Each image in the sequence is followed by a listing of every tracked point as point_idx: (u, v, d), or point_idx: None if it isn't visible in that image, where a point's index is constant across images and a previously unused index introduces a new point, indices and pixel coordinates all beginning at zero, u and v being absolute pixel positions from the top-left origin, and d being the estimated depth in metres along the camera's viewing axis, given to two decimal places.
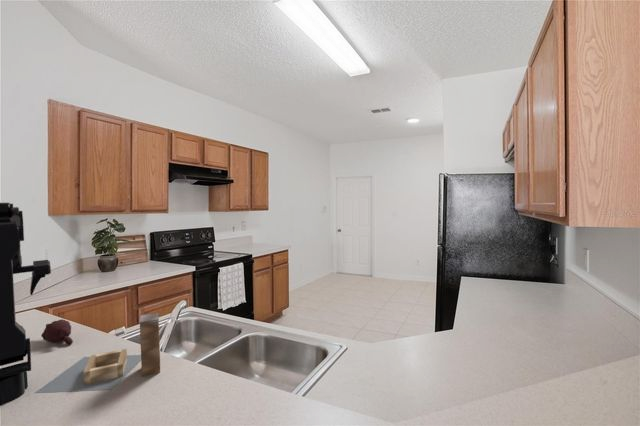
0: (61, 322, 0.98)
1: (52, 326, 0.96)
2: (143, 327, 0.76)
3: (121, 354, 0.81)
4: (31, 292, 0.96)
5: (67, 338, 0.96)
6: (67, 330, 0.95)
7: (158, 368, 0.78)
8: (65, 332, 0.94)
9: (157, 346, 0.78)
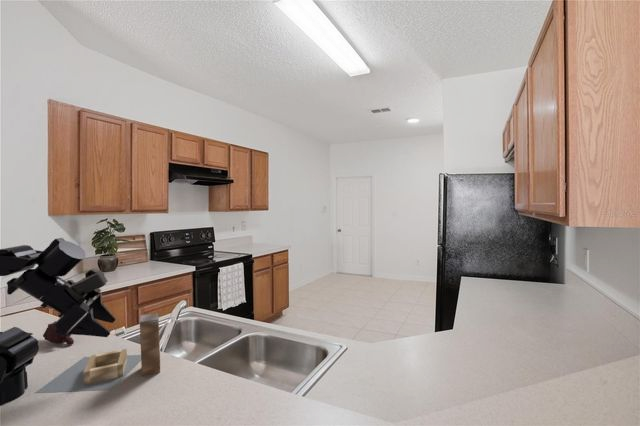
0: None
1: (53, 326, 0.96)
2: (143, 327, 0.76)
3: (121, 354, 0.81)
4: None
5: (68, 338, 0.96)
6: (68, 330, 0.95)
7: (158, 368, 0.78)
8: (66, 332, 0.94)
9: (157, 346, 0.78)
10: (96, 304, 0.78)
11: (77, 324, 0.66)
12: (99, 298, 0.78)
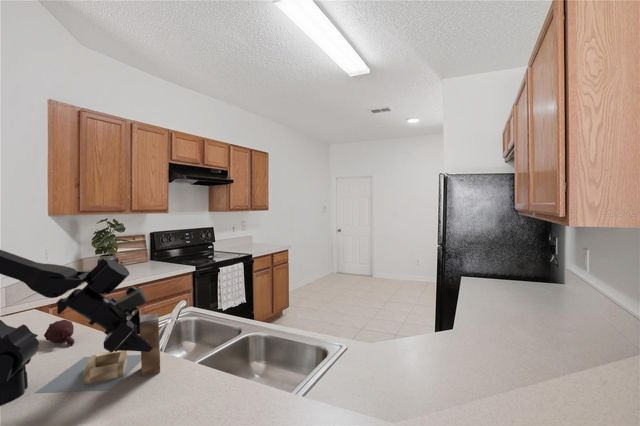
0: (63, 322, 0.98)
1: (54, 326, 0.96)
2: (143, 327, 0.76)
3: (121, 354, 0.81)
4: None
5: (69, 338, 0.96)
6: (69, 330, 0.94)
7: (158, 368, 0.78)
8: (67, 332, 0.94)
9: (157, 346, 0.78)
10: (135, 319, 0.82)
11: (124, 341, 0.70)
12: (138, 313, 0.82)
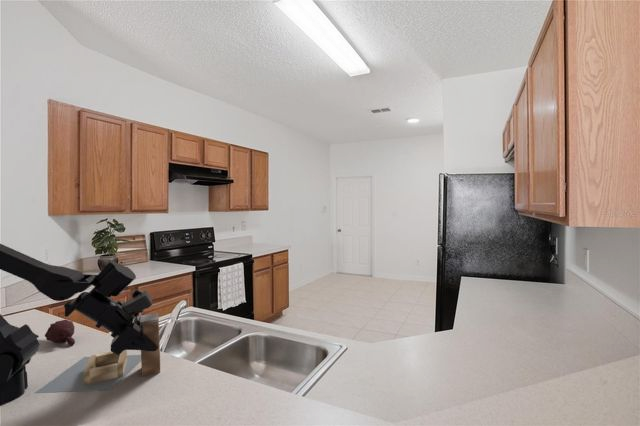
0: (64, 322, 0.98)
1: (55, 326, 0.96)
2: (143, 326, 0.76)
3: (121, 354, 0.81)
4: None
5: (69, 338, 0.96)
6: (69, 330, 0.94)
7: (158, 368, 0.78)
8: (67, 332, 0.94)
9: (157, 346, 0.78)
10: None
11: (131, 340, 0.72)
12: None
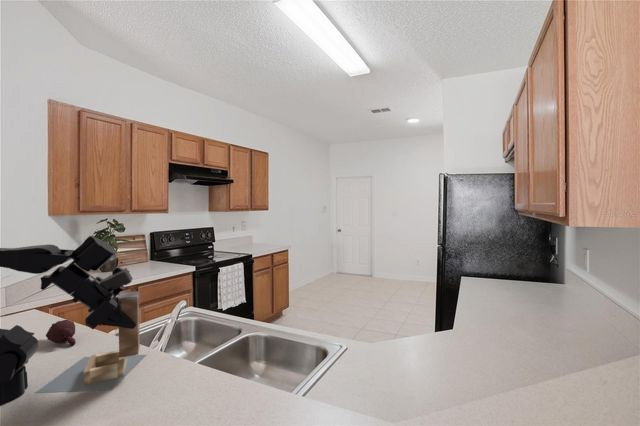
0: (65, 322, 0.98)
1: (56, 326, 0.96)
2: (122, 303, 0.76)
3: None
4: None
5: (70, 339, 0.96)
6: (70, 331, 0.94)
7: (136, 346, 0.77)
8: (68, 333, 0.94)
9: None
10: None
11: (108, 316, 0.71)
12: None
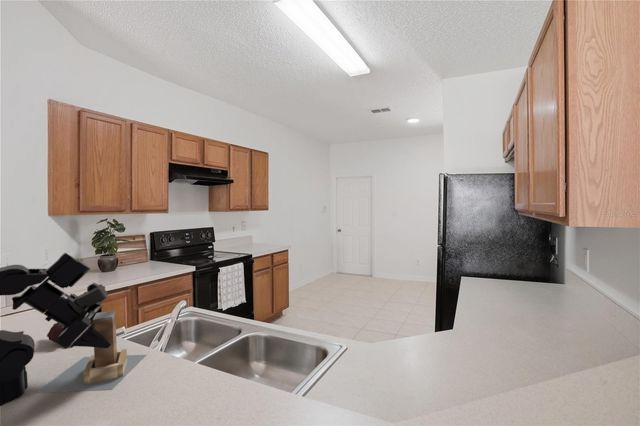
0: None
1: (57, 326, 0.96)
2: (97, 324, 0.76)
3: (121, 354, 0.81)
4: None
5: None
6: None
7: None
8: None
9: (111, 344, 0.77)
10: None
11: (80, 336, 0.70)
12: (100, 311, 0.82)
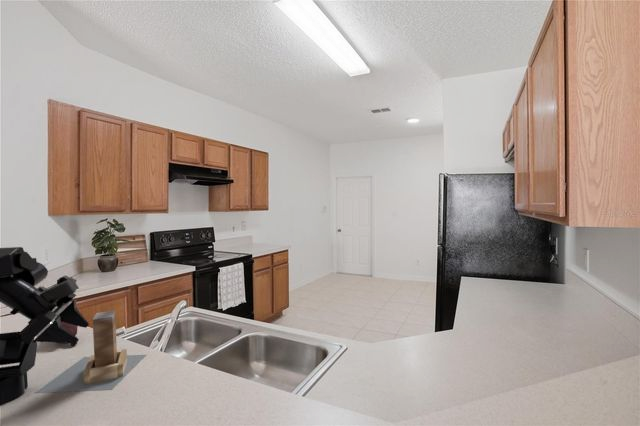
0: None
1: None
2: (97, 324, 0.76)
3: (121, 354, 0.81)
4: None
5: None
6: (71, 331, 0.94)
7: None
8: None
9: (111, 344, 0.77)
10: (70, 309, 0.80)
11: (43, 332, 0.67)
12: (72, 303, 0.80)
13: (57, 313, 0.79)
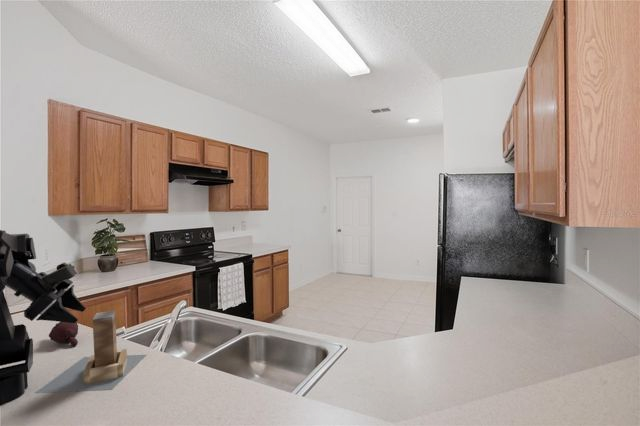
0: None
1: (59, 326, 0.96)
2: (97, 324, 0.76)
3: (121, 354, 0.81)
4: None
5: (72, 339, 0.95)
6: (71, 331, 0.94)
7: None
8: (69, 333, 0.93)
9: (111, 344, 0.77)
10: (67, 294, 0.86)
11: (46, 311, 0.74)
12: (70, 289, 0.86)
13: (55, 298, 0.85)
